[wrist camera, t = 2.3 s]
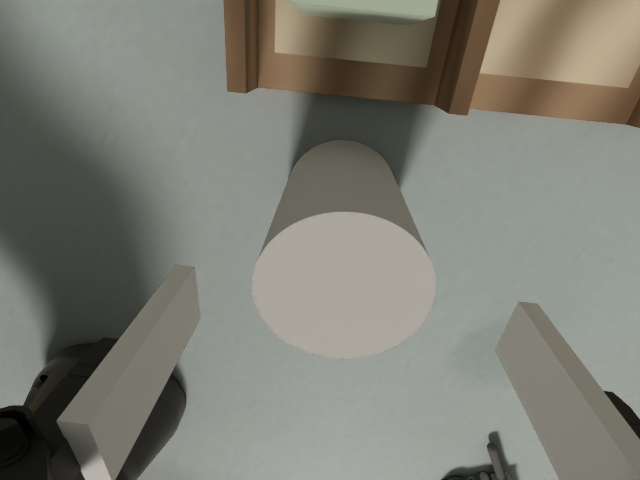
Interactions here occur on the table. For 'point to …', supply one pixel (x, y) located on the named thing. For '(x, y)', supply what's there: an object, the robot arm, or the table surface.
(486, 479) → the walkie-talkie
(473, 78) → the frame
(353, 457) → the table surface
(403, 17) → the sage block
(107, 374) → the robot arm
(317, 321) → the white cylinder
